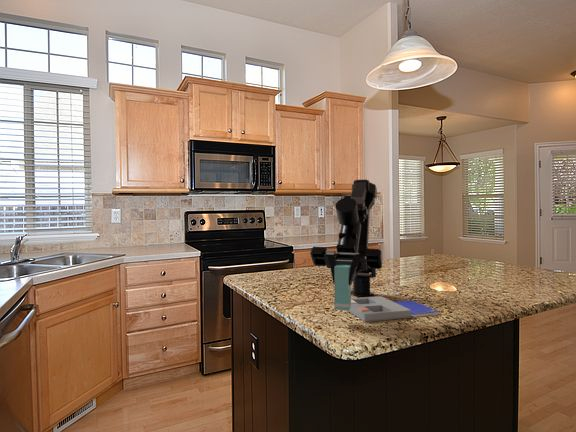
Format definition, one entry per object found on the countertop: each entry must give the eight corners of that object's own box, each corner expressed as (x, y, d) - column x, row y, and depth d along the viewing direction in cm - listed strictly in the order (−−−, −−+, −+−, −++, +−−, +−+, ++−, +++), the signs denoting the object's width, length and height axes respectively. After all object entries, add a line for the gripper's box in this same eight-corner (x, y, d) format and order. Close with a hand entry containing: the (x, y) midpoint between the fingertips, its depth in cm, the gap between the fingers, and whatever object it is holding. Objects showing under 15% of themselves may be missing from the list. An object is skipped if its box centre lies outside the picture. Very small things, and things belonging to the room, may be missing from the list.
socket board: (340, 305, 111) (340, 298, 111) (381, 302, 115) (381, 295, 115) (364, 321, 96) (364, 313, 96) (411, 317, 99) (411, 309, 99)
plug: (337, 305, 97) (337, 264, 96) (351, 306, 96) (351, 265, 95) (334, 309, 93) (334, 266, 93) (348, 310, 92) (348, 267, 92)
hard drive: (439, 310, 102) (412, 299, 114) (414, 313, 100) (389, 302, 112) (439, 316, 102) (412, 304, 114) (414, 319, 100) (389, 307, 112)
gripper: (384, 255, 105) (381, 303, 95) (322, 253, 112) (312, 297, 102) (382, 230, 98) (378, 279, 88) (315, 229, 104) (304, 274, 94)
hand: (341, 283), depth 93 cm, fingers closed on plug, 4 cm apart
